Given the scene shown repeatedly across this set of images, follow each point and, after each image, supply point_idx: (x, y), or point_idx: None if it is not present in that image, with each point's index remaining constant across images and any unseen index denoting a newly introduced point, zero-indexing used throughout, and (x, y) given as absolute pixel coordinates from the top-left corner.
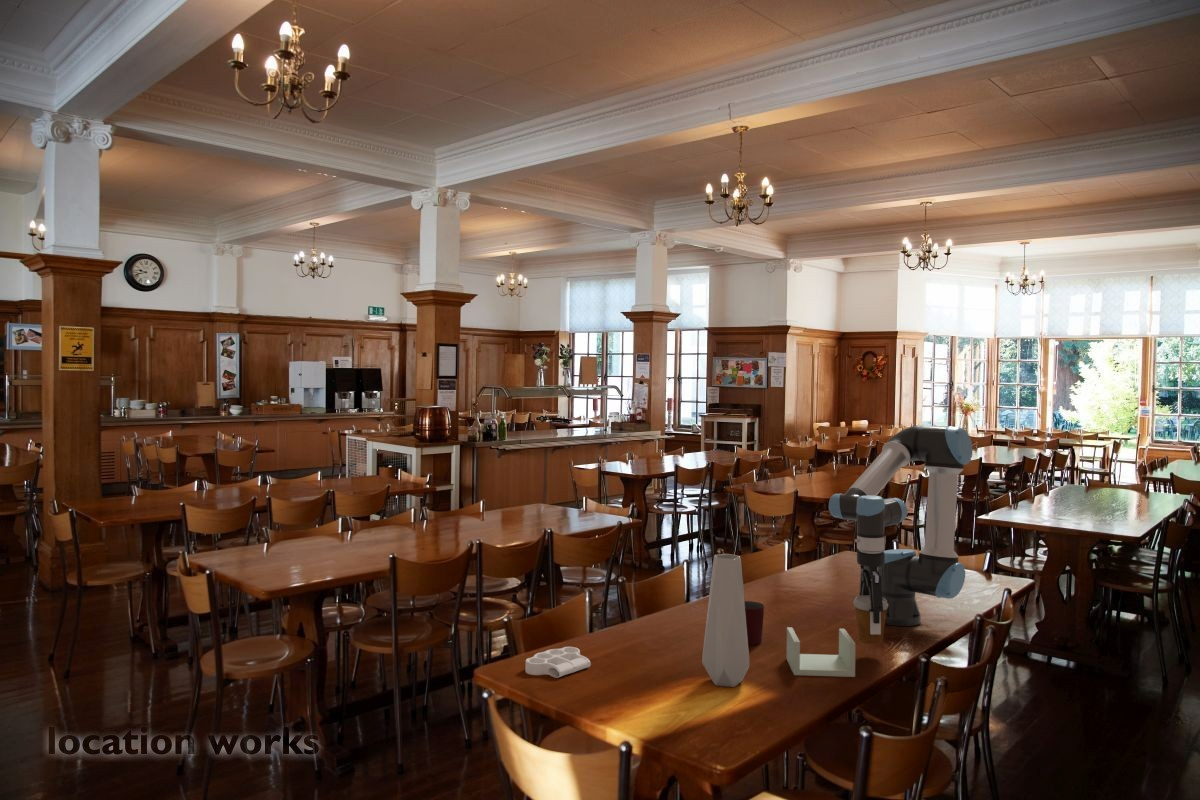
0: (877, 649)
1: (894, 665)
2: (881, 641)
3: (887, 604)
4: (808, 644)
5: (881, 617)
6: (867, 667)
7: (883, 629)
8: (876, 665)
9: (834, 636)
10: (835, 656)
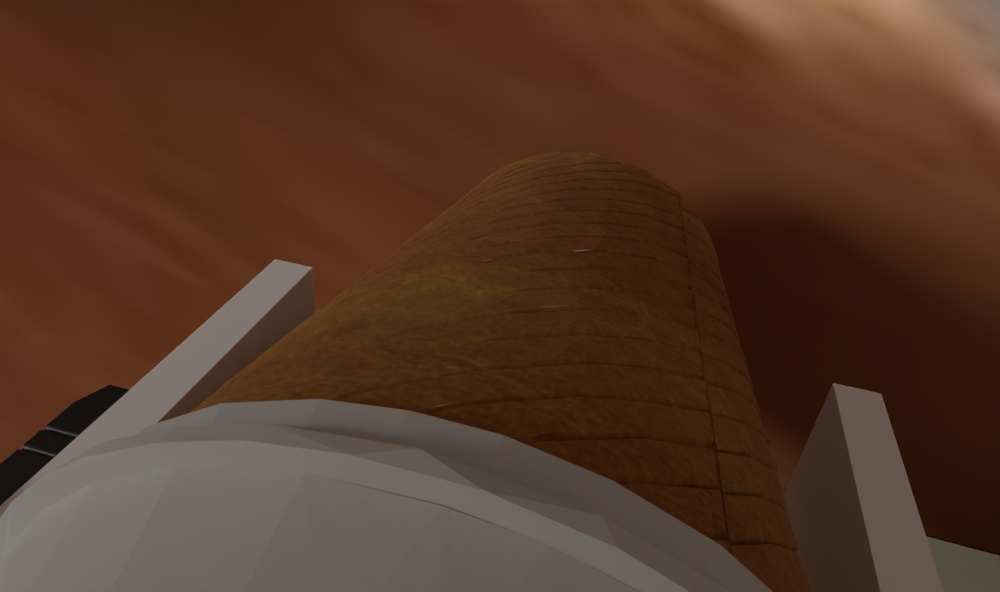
0: (400, 48)
1: (965, 93)
2: (695, 218)
3: (558, 556)
4: None
5: (788, 530)
6: (929, 390)
7: (688, 271)
8: (899, 286)
9: (101, 277)
10: None
